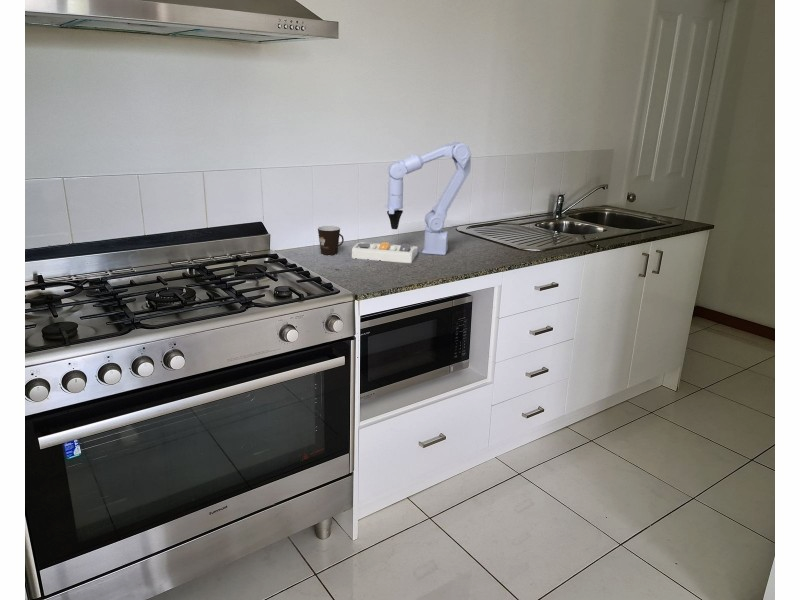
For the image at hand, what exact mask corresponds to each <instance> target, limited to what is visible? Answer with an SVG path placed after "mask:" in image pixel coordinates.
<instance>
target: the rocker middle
mask: <svg viewBox="0 0 800 600" xmlns="http://www.w3.org/2000/svg"><path fill="white" fill-rule="evenodd" d="M379 244H380V246H379V248H378V249H379V250H388V248H389V246H390V242H387V241H385V242H384V241H381V243H379Z"/></svg>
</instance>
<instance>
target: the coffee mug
mask: <svg viewBox="0 0 800 600" xmlns="http://www.w3.org/2000/svg"><path fill="white" fill-rule="evenodd" d="M340 232H341V227H340V226H334V225H322V226H318V227H317V233H318V240H319V241H318V242H319V249H320V254H321V255H322V254H323V255H322V256H328V255H331V256H336V255H338V251H339V247H340V246H342V244H343V243H344V240H345V239H344V236H343V235H342V234H341V233H340ZM340 237H341V243H340V244H339V242H340ZM335 254H336V255H335Z"/></svg>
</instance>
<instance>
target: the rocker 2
mask: <svg viewBox="0 0 800 600" xmlns="http://www.w3.org/2000/svg"><path fill="white" fill-rule="evenodd" d="M400 245H401V247H400V249H399V251H404V252H408V251H409V248H410V246H411V243H401V244H400Z"/></svg>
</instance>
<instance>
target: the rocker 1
mask: <svg viewBox="0 0 800 600" xmlns="http://www.w3.org/2000/svg"><path fill="white" fill-rule="evenodd" d="M359 243H360V244H358V247H360V248H368V247H370V244H364V243H361V242H359Z"/></svg>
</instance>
